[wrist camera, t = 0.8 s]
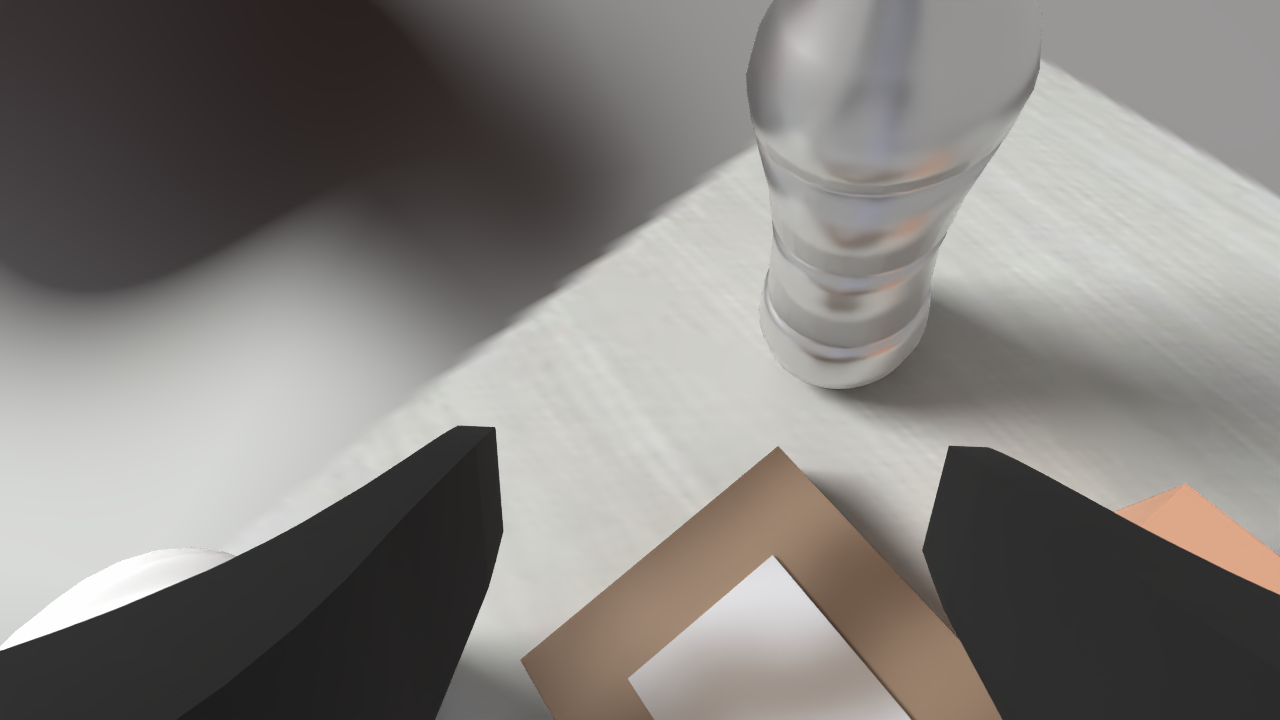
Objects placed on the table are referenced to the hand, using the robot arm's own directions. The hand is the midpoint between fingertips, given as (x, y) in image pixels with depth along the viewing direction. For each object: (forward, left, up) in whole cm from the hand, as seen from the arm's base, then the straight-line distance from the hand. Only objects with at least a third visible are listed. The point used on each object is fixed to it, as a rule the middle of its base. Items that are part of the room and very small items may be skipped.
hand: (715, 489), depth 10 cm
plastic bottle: (+5, -10, -16) cm, 20 cm away
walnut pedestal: (-3, +2, -16) cm, 16 cm away
